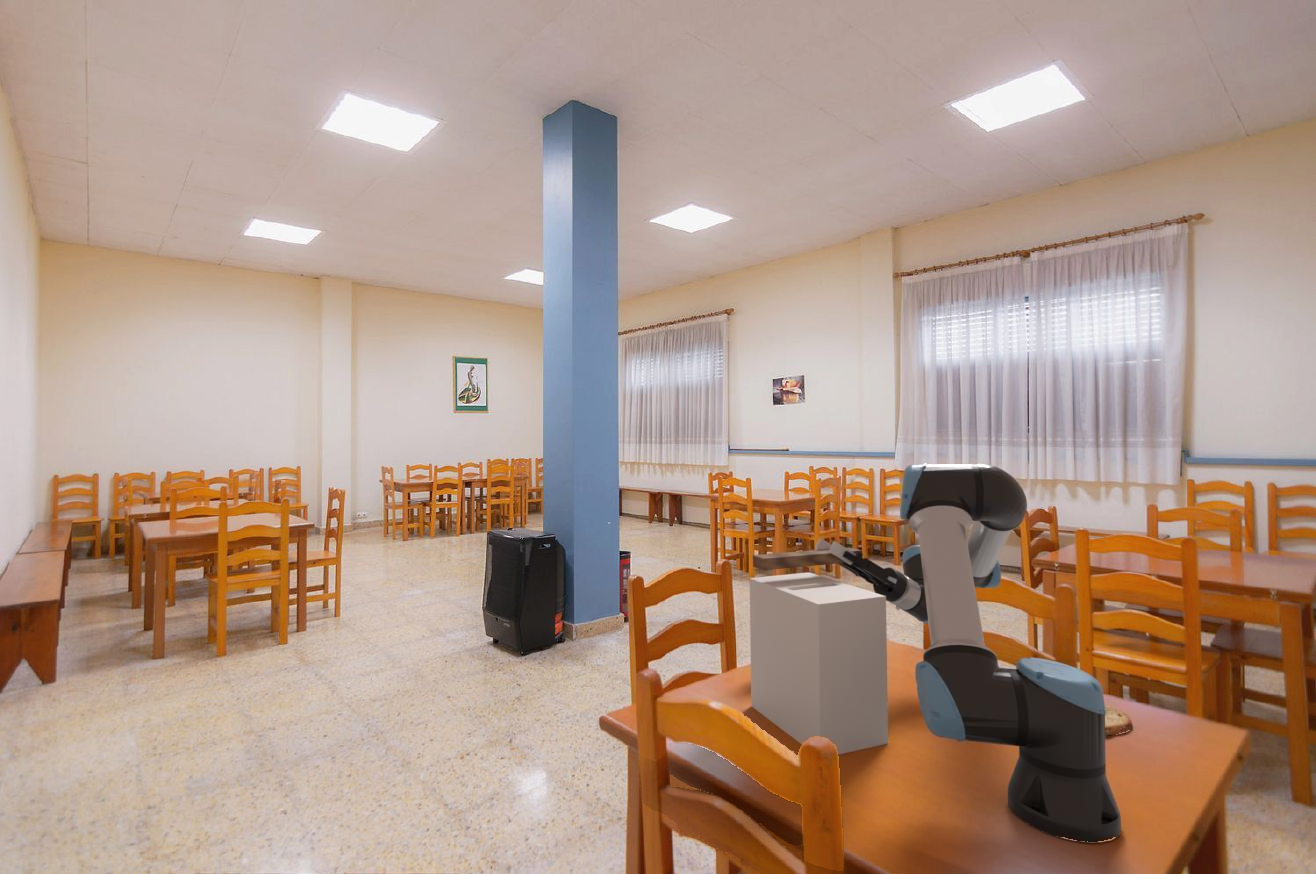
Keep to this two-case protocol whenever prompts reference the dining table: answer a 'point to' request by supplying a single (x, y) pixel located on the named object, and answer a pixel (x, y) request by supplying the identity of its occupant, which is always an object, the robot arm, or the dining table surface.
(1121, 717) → the slice of bread
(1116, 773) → the dining table surface
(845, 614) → the tall box
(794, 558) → the cover slat
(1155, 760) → the dining table surface
